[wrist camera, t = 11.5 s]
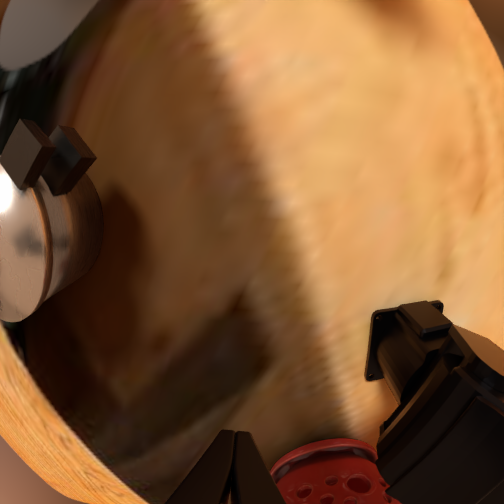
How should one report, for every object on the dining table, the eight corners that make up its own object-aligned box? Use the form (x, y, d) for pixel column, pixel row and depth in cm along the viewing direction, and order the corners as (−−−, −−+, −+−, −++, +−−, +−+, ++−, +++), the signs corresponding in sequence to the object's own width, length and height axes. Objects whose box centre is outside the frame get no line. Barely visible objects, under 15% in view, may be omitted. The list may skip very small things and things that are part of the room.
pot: (77, 104, 17) (27, 89, 11) (154, 197, 19) (112, 207, 13) (-23, 282, 21) (-58, 301, 15) (28, 353, 23) (-4, 383, 17)
